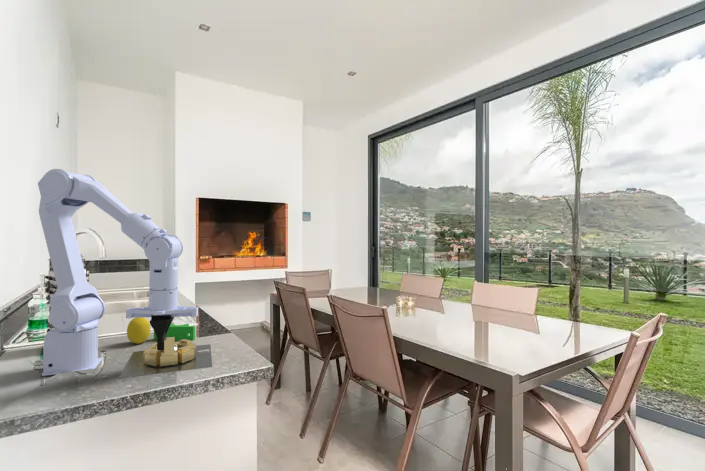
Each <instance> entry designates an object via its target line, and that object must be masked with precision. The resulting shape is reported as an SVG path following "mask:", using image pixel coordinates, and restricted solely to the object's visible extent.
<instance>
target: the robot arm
mask: <svg viewBox="0 0 705 471" xmlns="http://www.w3.org/2000/svg"><path fill="white" fill-rule="evenodd" d="M37 186H38V190H39V194H40V201H39V207H38V215H39V220H40V223H41V228H42V231H43V235H44V239H45V243H46V247H47V252H48V255H49V259H50V260H51V264H52V268H53V272H54V276H55V280H56V284H57V288H58V289H57V291H56V292H55V293H54V295H53V296H52V297H51V298H50V305H51V310H50V314H48V316H49V319H50V322H51V324H52V326H53V327H54V328H56V330H51V331H48V332H47V331H46V334H45V336H44V340H43V347H42V348H43V355H42V356H43V368H42V373H41V376H42V377H45V376H55V375H57V374H59V373H66V372H67V373H69V372H77V371H87V370H94V369H96V368H97V367H98V365H100V363H101V362H102V360H104V357H99V331H98V330H99V324H100V319H102V318H103V316H104V315H105V313H106V304H105V302H104V301H103V300H104V299H102V298H101V296H100V295H99V293H98V289H97V288H96V287H94V286H93V285H91V284H90V283H89V282H87V278H88V277H86V274H87V273H86V274H85V270H84V266H83V262H82V258H81V255H82V253H81V251H80V247H79V243H78V239H77V234H76V230H75V226H74V222H73V219H72V217H73V216H74V214H75V213H76V212H77V211H78V210H80V209H81V208H83V207H84V206H85V205H87V204H88V203H92V204H93V205H94V206H96V207H98V209H101V210H102V211H103V212H105V213H106V214H107V215H109V216H110V217H111V218H113V219H114V220H115V221H117V223H118V222H119V223H120V227H121V228H120V229H121V232H122V233H123V234H125V235H126V236H127V237H128V238H129V239H131V240H132V241H133V242H134V243H136V245H138V246H139V247H141V248H142V249H143V252H144V255H145V257H146V258H147V259H148V261H149V284H148V285H149V286H148V287H149V288H148V306H146V307H145V306H144V307H143V306H142V307H128V308H127V309H125V319H134V318H137V317H143V318H150V320H149V324H150V327H151V328H152V329H153V333H154V332H155V334H156V336H157V340H156V341H157V350H164V339H165V338H166V334H167V331H168V329H169V327H170V325H171V323H173V321H174V318H175V317H176V318H177V317H183V318H184V317H191V318H197V317H198V316H199V307H198V306H183V305H182V306H181V305H178V288H179V286H178V283H179V257H180V256H181V255H182V253H183V251H184V246H183V243H182V241H181V239H179V237H178V236H176V235H174V234H168V230H166V228H161V227H159V225H157V224H156V223H155V222H153V221H152V220H151V219H152V216H150V215H149V214H148V213H147V214H146V213H141V212H133V211H131V210H130V209H129V208H128V207H127V206H126V205H125V204H123V202H122V201H120V200H119V199H118V198H117V197H116V196H115V195H114V194H112V193H111V192H110V191H109V190H108V189H107V188H106V187H105V186H104V184H103V183H101V182H100V181H97V180H96V178H94V177H93V176H91V175H88V174H82V173H76V172H71V171H67V170H64V169H61V168H52V169H50V170H48V171H47V172H45V173H44V175H43V176H42V177H41V178H40V179H39V181H38V182H37ZM74 298H77V299H75V300H74Z"/></svg>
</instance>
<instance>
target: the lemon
mask: <svg viewBox="0 0 705 471" xmlns="http://www.w3.org/2000/svg"><path fill="white" fill-rule="evenodd" d="M150 334H151V325H150V320H148V319H147V317H137V318H131V320H130V321H129V322H128V325H127V329H126V336H127V338H128V340H129V342H131V343H133V344H136V345H139V344H142V343H144V342H146V341H147V340H148V339H149V337H150Z"/></svg>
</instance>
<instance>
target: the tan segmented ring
mask: <svg viewBox="0 0 705 471" xmlns="http://www.w3.org/2000/svg"><path fill="white" fill-rule="evenodd" d="M175 345H176V346H178V351H176V352H175ZM196 346H197V344H196V343H195V342H192V340H186V339H182V340H177V341H176V340H175V337H168V338H165V339H164V350H157V342H153V343H151V346H148V347H147V348H144V350H143V351H144V353H143V363H145V364H147V365H152V366H158V365H160V366H168V365H176V364H178V363H184V362H187V361H189V360H192V359H194V357H196Z"/></svg>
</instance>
